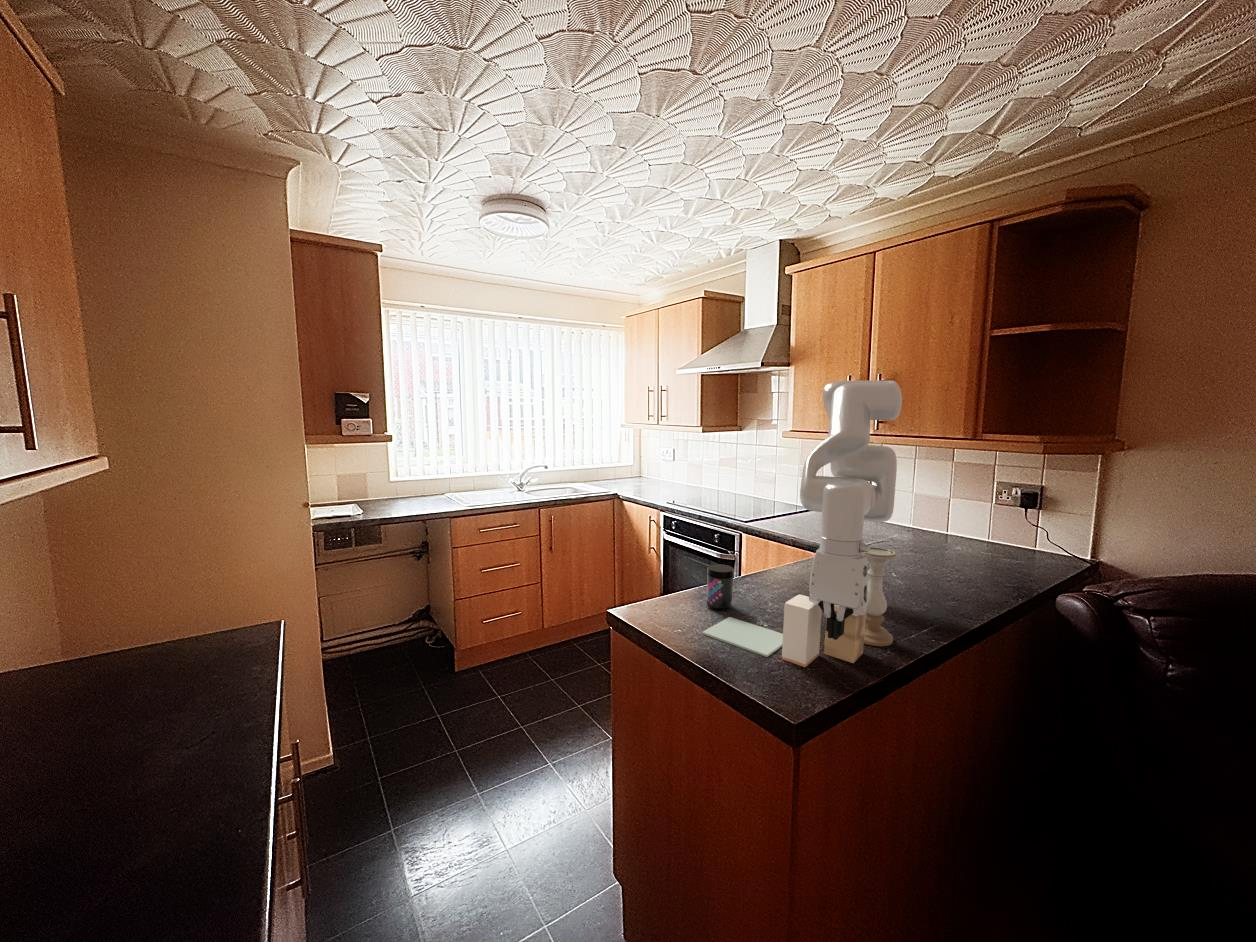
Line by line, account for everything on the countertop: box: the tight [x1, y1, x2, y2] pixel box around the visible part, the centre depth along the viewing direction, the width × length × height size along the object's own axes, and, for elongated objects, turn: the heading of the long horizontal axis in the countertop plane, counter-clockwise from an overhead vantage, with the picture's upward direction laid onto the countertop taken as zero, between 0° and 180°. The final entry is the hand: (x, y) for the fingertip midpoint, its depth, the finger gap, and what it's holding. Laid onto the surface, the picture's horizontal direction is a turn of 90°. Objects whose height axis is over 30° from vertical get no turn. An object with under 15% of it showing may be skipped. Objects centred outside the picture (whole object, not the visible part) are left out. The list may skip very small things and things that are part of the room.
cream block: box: [781, 593, 823, 668], centre depth 104 cm, size 7×5×12 cm
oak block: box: [823, 605, 866, 664], centre depth 106 cm, size 6×6×10 cm
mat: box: [701, 616, 783, 658], centre depth 114 cm, size 12×16×1 cm
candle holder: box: [861, 546, 897, 647], centre depth 113 cm, size 9×9×20 cm
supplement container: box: [706, 563, 735, 612], centre depth 131 cm, size 7×7×10 cm
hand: (834, 636), depth 100 cm, fingers closed
